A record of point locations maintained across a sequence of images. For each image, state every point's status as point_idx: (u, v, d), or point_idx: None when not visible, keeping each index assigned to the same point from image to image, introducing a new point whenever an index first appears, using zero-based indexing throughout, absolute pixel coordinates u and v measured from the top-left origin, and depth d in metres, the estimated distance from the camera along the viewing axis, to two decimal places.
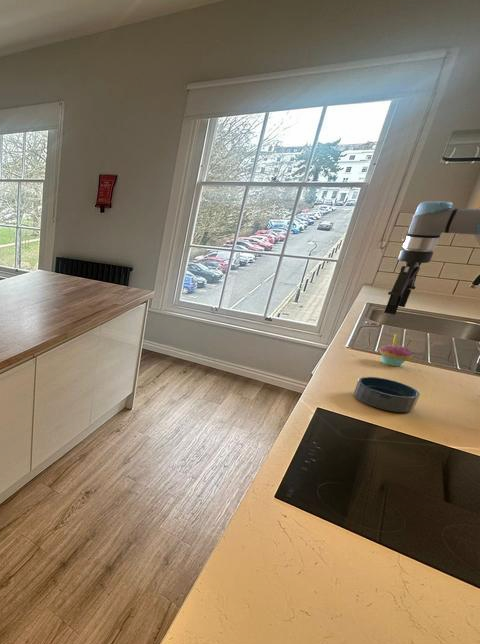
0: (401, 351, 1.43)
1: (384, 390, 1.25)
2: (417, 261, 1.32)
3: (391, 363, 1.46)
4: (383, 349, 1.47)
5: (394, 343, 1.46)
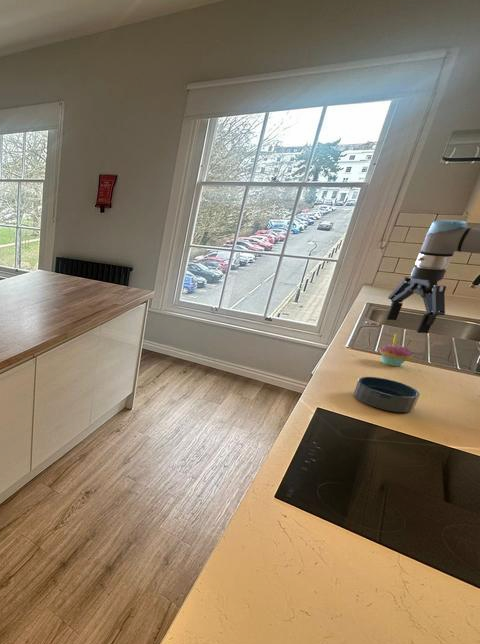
0: (401, 351, 1.43)
1: (384, 390, 1.25)
2: (440, 279, 1.33)
3: (391, 363, 1.46)
4: (383, 349, 1.47)
5: (394, 343, 1.46)
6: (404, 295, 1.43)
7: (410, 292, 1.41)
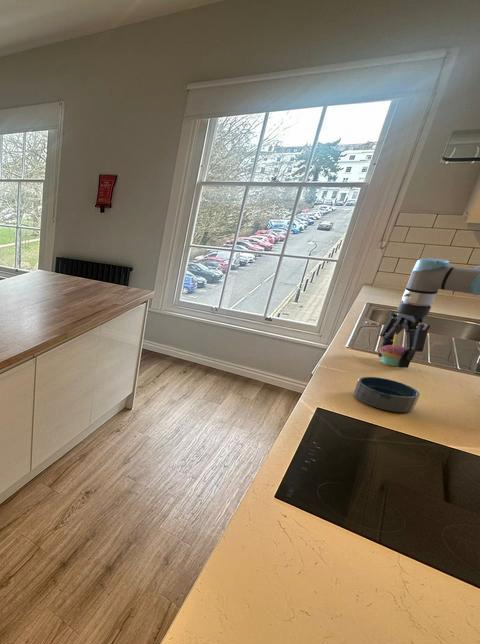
0: (401, 351, 1.43)
1: (384, 390, 1.25)
2: (425, 315, 1.37)
3: (391, 363, 1.46)
4: (383, 349, 1.47)
5: (394, 343, 1.46)
6: (394, 331, 1.47)
7: (399, 328, 1.45)
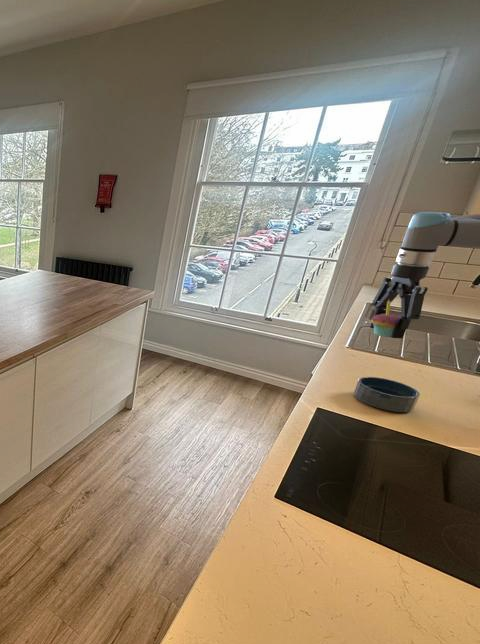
0: (395, 320, 1.26)
1: (384, 390, 1.25)
2: (422, 277, 1.20)
3: (384, 334, 1.29)
4: (375, 318, 1.30)
5: (387, 311, 1.29)
6: (387, 298, 1.30)
7: (393, 294, 1.28)
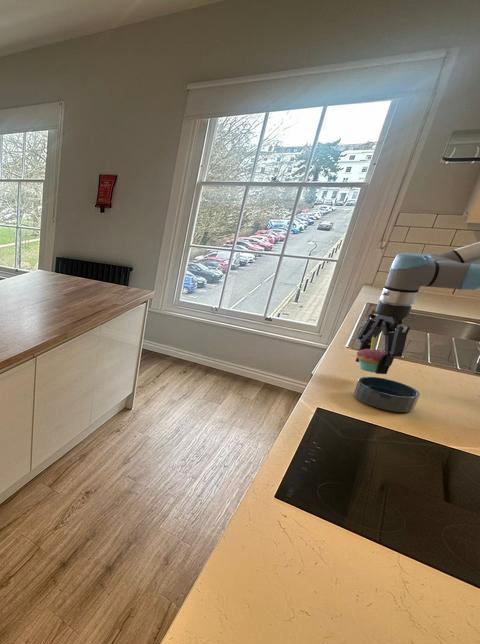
0: (379, 356, 1.29)
1: (384, 390, 1.25)
2: (405, 316, 1.23)
3: (368, 369, 1.32)
4: (360, 353, 1.33)
5: (372, 347, 1.32)
6: (372, 334, 1.33)
7: (377, 330, 1.32)
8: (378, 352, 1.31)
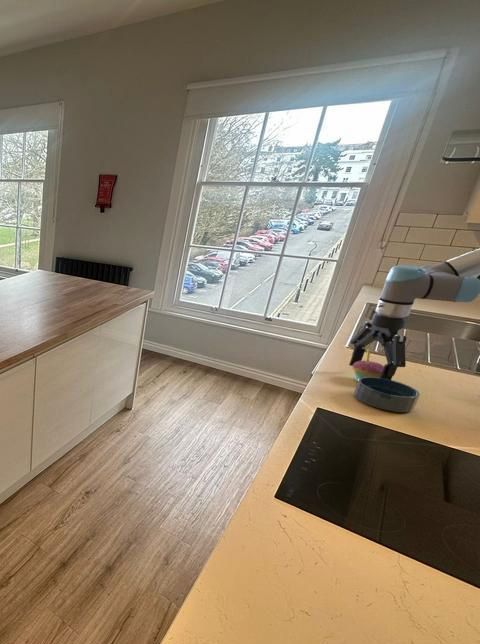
0: (374, 368, 1.31)
1: (384, 390, 1.25)
2: (400, 328, 1.25)
3: None
4: (356, 365, 1.35)
5: (367, 359, 1.34)
6: (366, 341, 1.35)
7: (372, 339, 1.34)
8: (373, 364, 1.32)
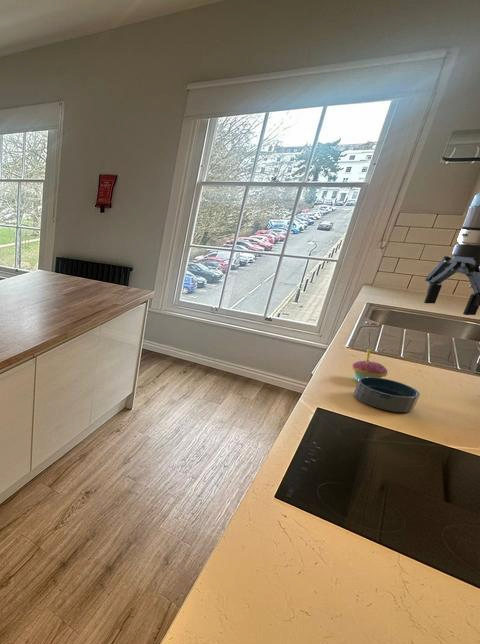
0: (374, 368, 1.31)
1: (384, 390, 1.25)
2: None
3: None
4: (356, 365, 1.35)
5: (367, 359, 1.34)
6: (444, 276, 1.33)
7: (451, 272, 1.31)
8: (373, 364, 1.32)
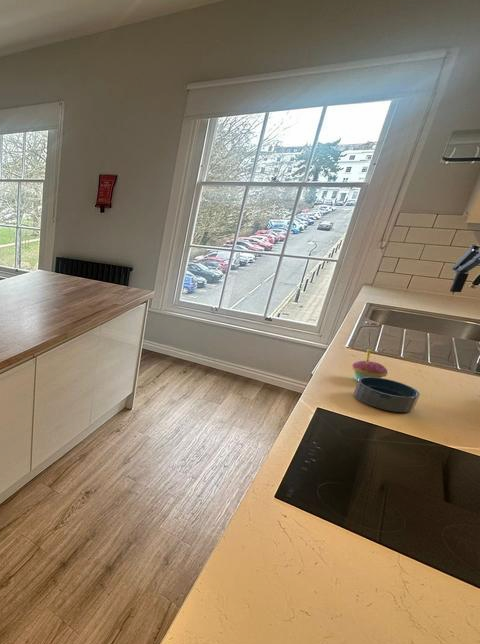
0: (374, 368, 1.31)
1: (384, 390, 1.25)
2: None
3: None
4: (356, 365, 1.35)
5: (367, 359, 1.34)
6: (471, 264, 1.34)
7: (479, 261, 1.33)
8: (373, 364, 1.32)
